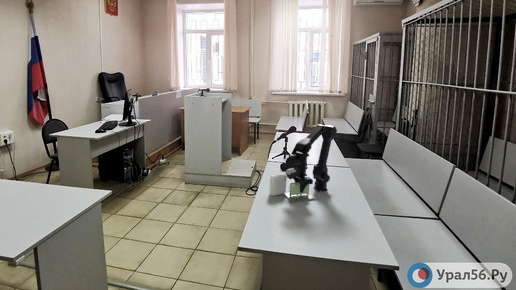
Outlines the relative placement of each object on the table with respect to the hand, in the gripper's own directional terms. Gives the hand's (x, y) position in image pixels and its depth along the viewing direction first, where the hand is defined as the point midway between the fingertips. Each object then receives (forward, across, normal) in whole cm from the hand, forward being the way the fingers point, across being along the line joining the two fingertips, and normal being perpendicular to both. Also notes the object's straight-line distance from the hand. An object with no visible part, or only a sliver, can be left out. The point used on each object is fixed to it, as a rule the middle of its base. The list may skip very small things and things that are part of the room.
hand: (299, 191), depth 187 cm
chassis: (+4, 0, 0) cm, 4 cm away
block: (+1, 0, 0) cm, 1 cm away
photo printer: (+4, -8, -10) cm, 13 cm away
